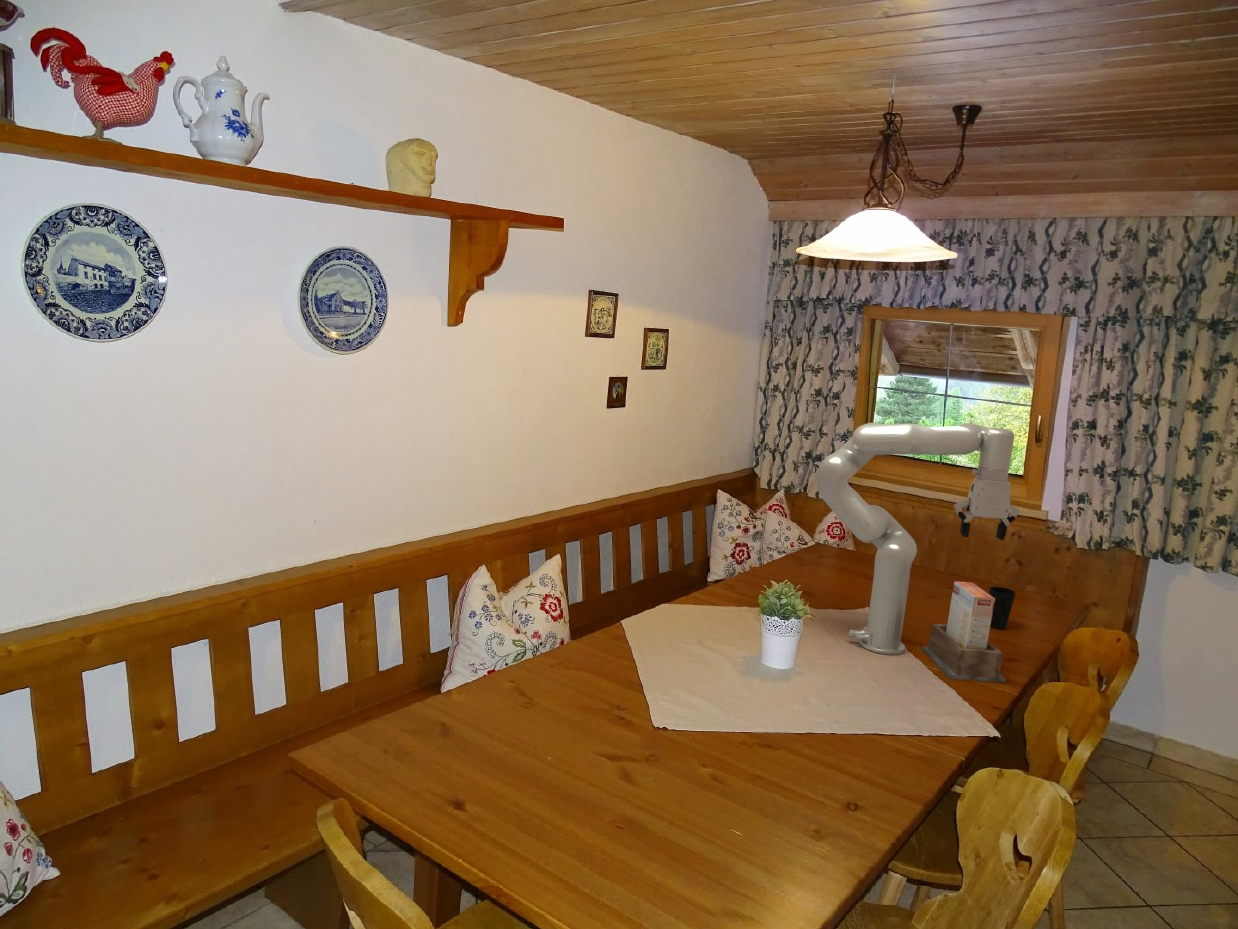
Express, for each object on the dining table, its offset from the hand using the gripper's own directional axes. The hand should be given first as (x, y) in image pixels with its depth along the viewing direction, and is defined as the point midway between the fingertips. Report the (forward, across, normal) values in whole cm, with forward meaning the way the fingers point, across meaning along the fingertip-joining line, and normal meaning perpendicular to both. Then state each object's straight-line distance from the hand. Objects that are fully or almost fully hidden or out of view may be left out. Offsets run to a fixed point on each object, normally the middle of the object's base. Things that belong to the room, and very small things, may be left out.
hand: (982, 537), depth 236 cm
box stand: (+36, 0, 0) cm, 36 cm away
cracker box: (+35, 0, 0) cm, 35 cm away
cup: (+36, +26, +35) cm, 57 cm away
